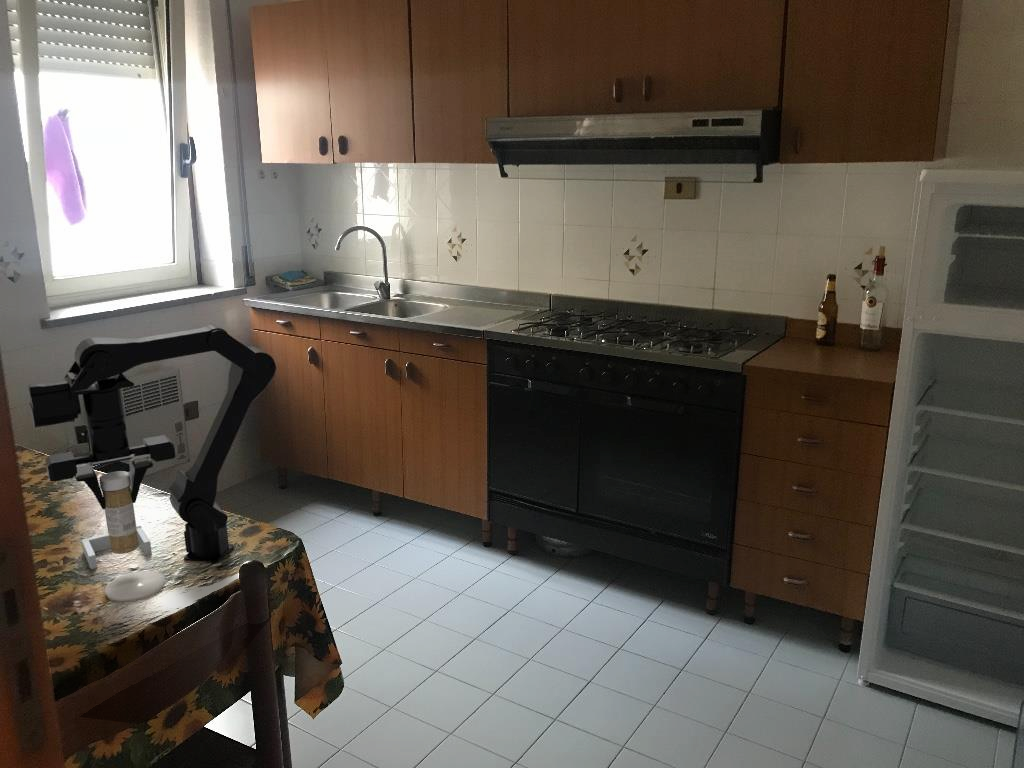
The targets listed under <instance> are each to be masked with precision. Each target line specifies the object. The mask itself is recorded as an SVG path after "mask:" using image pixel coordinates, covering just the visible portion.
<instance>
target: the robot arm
mask: <svg viewBox="0 0 1024 768" xmlns="http://www.w3.org/2000/svg"><path fill="white" fill-rule="evenodd" d="M209 352H216V353H217V354H219V355H220V356H222V357H223V358H225V359H226V360H228V361H230V362H231V363H230V369H229V373H228V380H227V389H226V390H227V391H226V393H225V395H224V399H223V400H222V402H221V404H220V408H219V409H218V412H217V413H216V416H215V418H214V420H213V422H212V425H211V426H210V429H209V431H208V433H207V436H206V438H204V439H205V440H204V442H203V444H202V446H201V448H200V450H199V453H198V455H197V458H196V459H195V461H194V463H193V465H192V466H191V467H190V468H189V469H187V470H186V471H183V470H182V469H178V470H177V472H176V473H175V474H176V475H175V478H174V482H173V483H172V485H171V486H170V487H169V488H168V491H169V493H170V495H169V501H170V505H171V507H172V508H173V509H174V511H175V513H177V515H178V516H179V517H180V519H182V521H183V522H185V524H184V526H185V530H184V531H183V535H184V543H185V544H184V545H185V551H186V553H187V554H185V555H184V556H183V560H184V561H191V562H202V563H203V562H204V563H215V564H216V563H218V562H220V560H221V559H222V558H224V557H225V556H226V555H227V554H228V553H229V552H230V551H231V550H233V549H234V548H235V546H234V544H233V543H229V542H230V541H229V536H228V535H229V533H228V526H227V522H228V519H229V516H228V515H227V513H226V512H225V511H224V509H222V508H221V507H220V505H219V504H218V503H217V502H216V499H217V495H218V485H219V483H218V482H219V475H220V473H221V470H222V468H223V466H224V464H225V462H226V459H227V457H228V455H229V453H230V450H231V449H232V446H233V445H234V442H235V440H236V438H237V436H238V433H239V432H240V429H241V427H242V424H243V422H244V420H245V418H246V415H248V412H249V409H250V407H251V405H252V404H253V402H254V401H255V400H257V398H258V397H259V396H260V395H261V394H262V393H264V391H265V390H266V389H267V387H268V386H269V384H270V383H271V381H272V380H273V378H274V376H276V372H277V365H276V362H275V359H274V358H273V357H272V356H271V354H268V353H267V352H265V351H263V350H261V349H260V348H258V347H255V346H252V345H251V346H249V345H248V346H247V345H245V344H243V343H242V342H240V341H239V340H237V339H236V338H235V337H233V336H232V335H230V334H229V333H228V332H227V331H226V330H225V329H223V328H221V327H220V326H218V325H215V324H208V325H206V326H204V327H199V328H193V329H192V328H191V329H188V330H187V329H186V330H180V331H173V332H168V333H162V334H157V335H151V336H145V337H138V338H123V337H122V338H121V337H89V338H86V339H83V340H81V342H80V343H79V344H78V345H77V347H75V350H74V362H73V363H72V365H71V366H70V368H69V369H68V371H67V373H66V374H65V376H64V377H63V379H64V380H61V381H54V382H48V383H47V382H46V383H32V384H28V386H27V389H28V397H29V402H28V406H29V412H30V417H31V421H32V425H33V429H41V428H47V427H51V426H52V427H53V426H59V425H64V424H65V425H66V424H68V423H69V424H71V423H75V421H76V419H79V416H80V415H82V409H81V403H80V396H81V395H82V402H83V409H84V415H85V423H86V424H80V425H75V426H74V425H73V431H74V432H73V434H74V438H75V443H76V445H77V446H81V445H86V444H87V449H88V451H89V453H90V454H87V455H81V456H77V457H76V456H74V453H73V451H65V452H61V453H55V454H50V455H48V456H47V457H46V458H45V460H44V461H45V468H46V472H47V476H48V479H49V482H55V483H56V482H61V481H64V480H65V481H66V480H70V479H73V478H74V479H75V481H76V482H83V483H84V484H86V486H87V487H88V488H89V490H90V491H91V492H92V494H93V495H94V497H95V499H96V500H97V502H98V504H99V505H100V508H101V510H102V511H103V510H104V511H105V502H104V498H103V493H102V489H101V488H100V481H99V479H98V476H97V474H96V471H95V470H94V467H95V466H101V465H105V464H111V463H116V462H122V461H126V460H128V462H129V463H128V464H129V465H128V466H129V475H130V481H131V484H130V489H131V496H132V501H133V504H135V503H136V502H137V498H138V495H139V493H140V488H141V485H142V481H143V479H144V477H145V475H146V473H147V471H148V470H149V469H151V468H154V463H153V461H154V462H156V463H158V462H163V461H167V460H174V459H175V458H176V451H175V450H176V449H175V447H174V443H173V442H172V440H171V439H170V438H169V437H168V436H166V435H165V434H161V435H155V436H150V437H145V438H142V440H143V441H142V445H136V446H130V442H129V441H130V440H129V436H128V435H129V434H128V426H127V419H126V414H125V407H124V400H123V393H122V389H127V388H132V387H134V386H135V382H134V381H132V380H131V379H130V378H129V377H127V376H125V375H124V373H126V372H128V371H130V370H132V369H134V368H135V367H137V366H140V365H143V364H148V363H154V362H159V361H165V360H170V359H175V358H181V357H187V356H191V355H192V356H193V355H197V354H198V355H199V354H203V353H204V354H205V353H209ZM79 395H80V396H79ZM151 459H152V460H151Z"/></svg>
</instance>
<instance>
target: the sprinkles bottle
mask: <svg viewBox="0 0 1024 768" xmlns="http://www.w3.org/2000/svg"><path fill="white" fill-rule="evenodd" d="M98 482H99V485H100V489H101V492H102V495H103V498H104V502H105V509H104V515H105V520H106V522H105V523H106V527H107V528H106V529H107V534H109V539H110V546H111V548H109V549H110V550H109V551H110V552H111V553H113V554H116V555H123V554H129V553H132V552H134V551H136V550H137V549H138V548H139V546H140V544H139V542H138V538H137V531H136V529H137V528H136V527H137V522H136V513H135V508H134V503H133V501H132V496H131V489H130V484H131V481H130V472H128V471H124V470H116V471H110V472H107V473H104V474H102V475H101V476H100V477H99V479H98Z"/></svg>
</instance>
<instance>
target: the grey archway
mask: <svg viewBox="0 0 1024 768" xmlns="http://www.w3.org/2000/svg"><path fill="white" fill-rule="evenodd" d="M136 528H137V529H136V531H137V538H138V542H139V546H140V548H141V550H142V551H143V553H144V554H145V556H149V555H152V554H153V553H152V544H151V540H150V539H149V537H148V535H147V533H146V532H145V531H144V529H143V528H142V525H138V526H137V525H136ZM81 545H82V551H83V554H84V556H85V559H86V561H87V563H88V566H89V568H90V570H95V569H98V563H97V557H96V554H95V553H96V552H100V551H103V550H107V549H110V548H111V546H110V539H109V534H108V533H104V534H100V535H96V536H92V537H88V538H83V539H81Z"/></svg>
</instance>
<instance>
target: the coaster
mask: <svg viewBox="0 0 1024 768" xmlns="http://www.w3.org/2000/svg"><path fill="white" fill-rule="evenodd" d="M165 580H166V579H165V575H164V574H163V573H161V572H160V571H156V570H137V571H132V572H129V573H125V574H123V575H120V576H118V577H115V578H114V579H112V580H110V582H109V583H107V585H106V586H105V588H104V589H105V597H106V598H107V599H108V600H109V601H113V602H117V603H130V602H137V601H140V600H144V599H147V598H149V597H152V596H153V595H156V594H158V593H159V592H160V591H161V590H162V589H163V588H164V586H165V585H166V581H165Z"/></svg>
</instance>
